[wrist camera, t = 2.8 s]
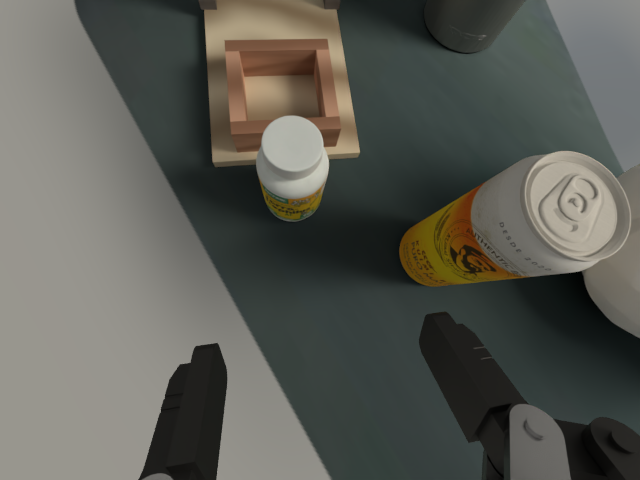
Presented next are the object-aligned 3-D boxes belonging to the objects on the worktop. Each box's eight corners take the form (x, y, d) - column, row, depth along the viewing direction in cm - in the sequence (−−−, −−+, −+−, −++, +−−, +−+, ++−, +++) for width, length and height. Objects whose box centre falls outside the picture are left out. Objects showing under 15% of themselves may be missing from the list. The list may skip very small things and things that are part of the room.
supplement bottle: (324, 176, 28) (340, 114, 19) (315, 227, 27) (329, 189, 18) (270, 165, 28) (260, 97, 19) (259, 217, 27) (242, 172, 17)
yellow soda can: (383, 257, 27) (491, 207, 13) (420, 212, 29) (555, 119, 14) (433, 300, 27) (604, 299, 12) (468, 252, 28) (659, 199, 14)
